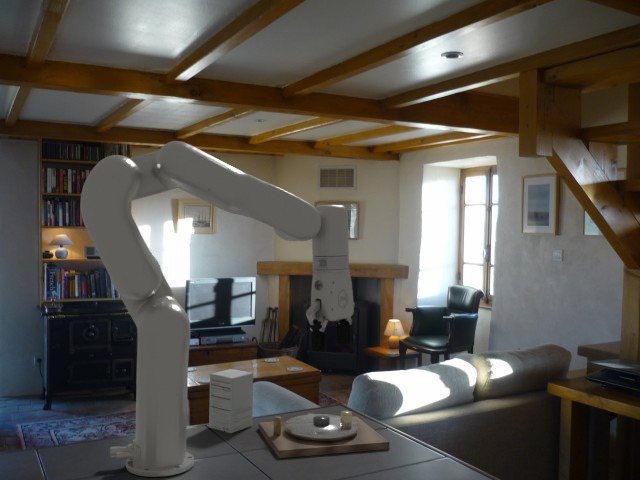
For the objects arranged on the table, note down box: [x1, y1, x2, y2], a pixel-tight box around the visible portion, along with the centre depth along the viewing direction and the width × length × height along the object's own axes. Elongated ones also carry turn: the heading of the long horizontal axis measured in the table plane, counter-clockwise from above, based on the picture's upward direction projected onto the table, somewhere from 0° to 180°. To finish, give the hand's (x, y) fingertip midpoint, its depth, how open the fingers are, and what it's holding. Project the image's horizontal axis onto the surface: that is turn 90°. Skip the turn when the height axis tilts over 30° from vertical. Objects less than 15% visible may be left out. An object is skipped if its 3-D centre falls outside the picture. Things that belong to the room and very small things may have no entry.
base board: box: [258, 415, 390, 459], centre depth 140 cm, size 24×20×5 cm
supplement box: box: [208, 368, 254, 434], centre depth 148 cm, size 7×7×13 cm
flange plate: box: [285, 410, 358, 441], centre depth 141 cm, size 16×17×5 cm
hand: (332, 346), depth 132 cm, fingers open, 9 cm apart
